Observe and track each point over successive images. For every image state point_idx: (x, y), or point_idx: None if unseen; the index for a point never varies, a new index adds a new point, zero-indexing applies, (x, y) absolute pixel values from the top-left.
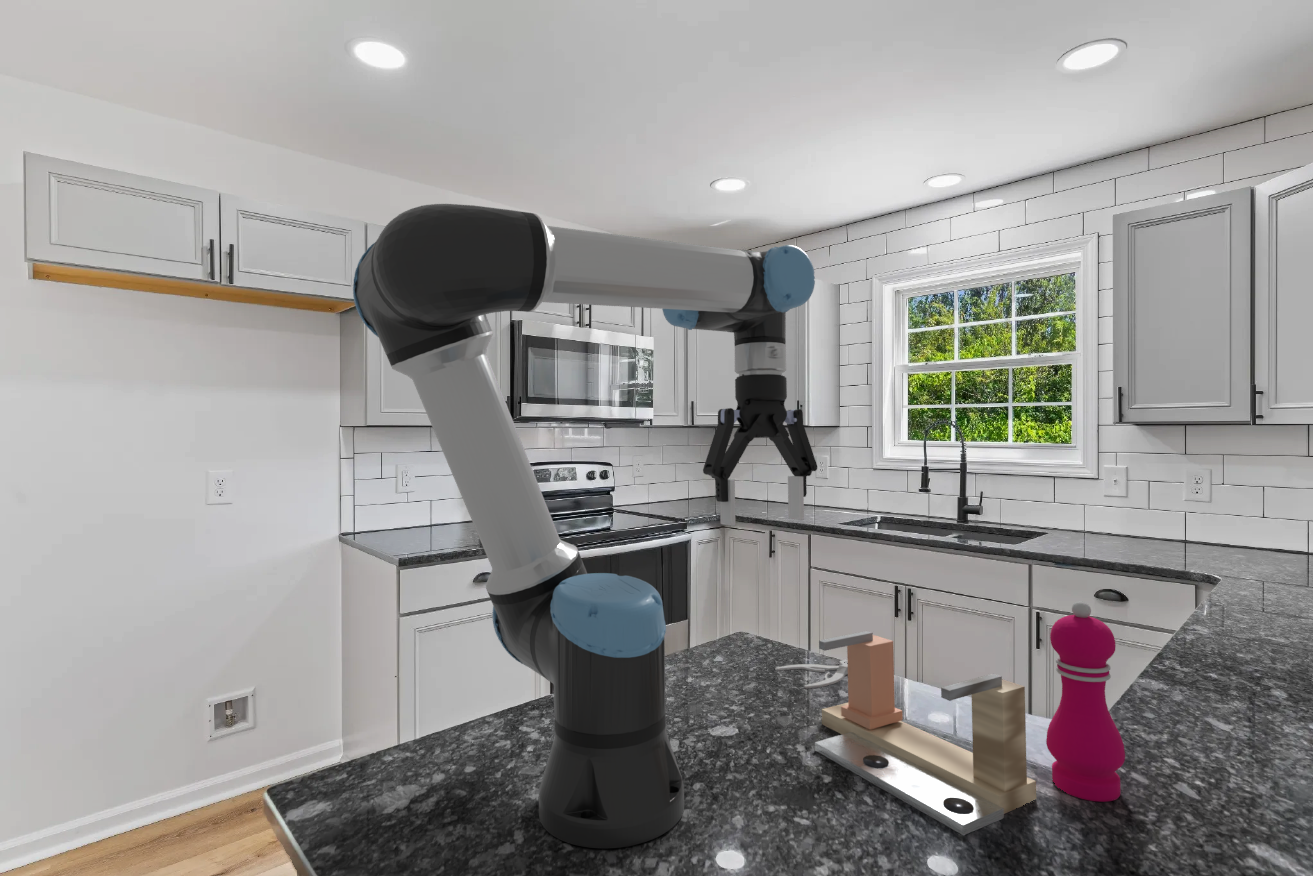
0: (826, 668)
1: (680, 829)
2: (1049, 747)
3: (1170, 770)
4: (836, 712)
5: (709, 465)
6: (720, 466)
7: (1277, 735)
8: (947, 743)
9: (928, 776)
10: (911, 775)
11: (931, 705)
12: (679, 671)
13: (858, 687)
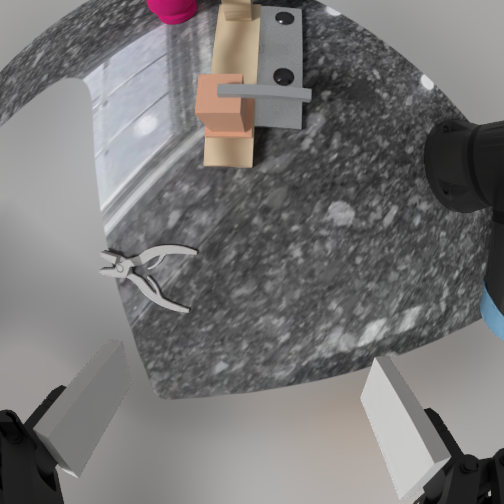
0: (142, 279)
1: (437, 119)
2: (189, 3)
3: (116, 15)
4: (245, 152)
5: (479, 501)
6: (499, 478)
7: (38, 41)
8: (215, 57)
9: (267, 44)
10: (277, 51)
11: (128, 149)
12: (278, 359)
13: (244, 111)
